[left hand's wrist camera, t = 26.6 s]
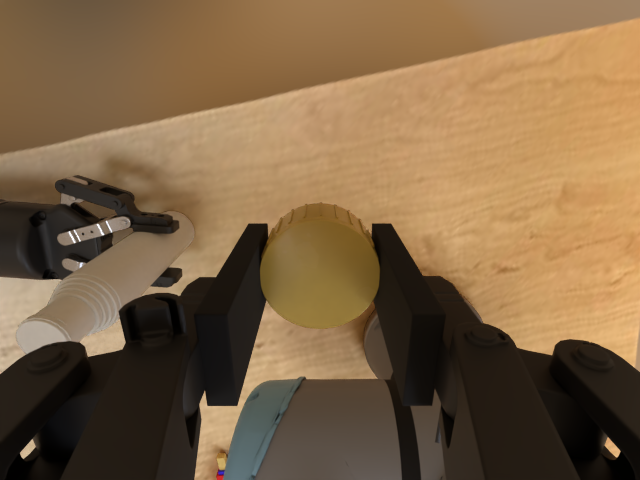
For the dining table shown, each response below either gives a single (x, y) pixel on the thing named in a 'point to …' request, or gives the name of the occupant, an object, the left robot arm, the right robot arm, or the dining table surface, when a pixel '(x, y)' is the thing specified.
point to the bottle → (104, 287)
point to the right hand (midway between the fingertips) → (177, 251)
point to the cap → (319, 267)
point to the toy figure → (221, 465)
